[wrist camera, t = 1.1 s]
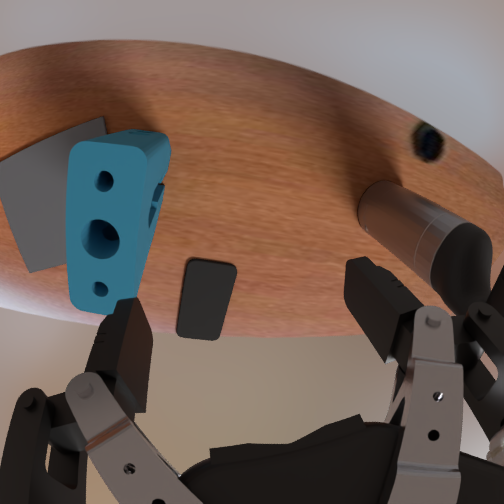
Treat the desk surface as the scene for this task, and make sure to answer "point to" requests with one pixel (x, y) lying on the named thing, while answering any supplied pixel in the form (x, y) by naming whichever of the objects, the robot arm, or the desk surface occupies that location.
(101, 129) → the mat
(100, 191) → the block
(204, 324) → the phone
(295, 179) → the desk surface
